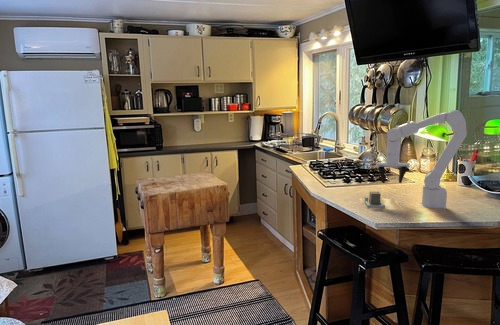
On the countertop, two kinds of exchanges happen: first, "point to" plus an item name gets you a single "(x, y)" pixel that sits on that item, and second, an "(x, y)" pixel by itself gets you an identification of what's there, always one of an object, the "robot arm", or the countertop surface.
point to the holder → (375, 205)
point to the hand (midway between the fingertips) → (391, 182)
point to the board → (389, 204)
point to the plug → (374, 198)
